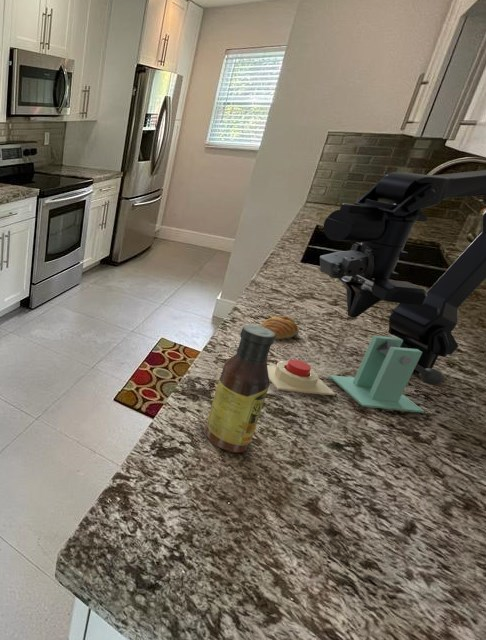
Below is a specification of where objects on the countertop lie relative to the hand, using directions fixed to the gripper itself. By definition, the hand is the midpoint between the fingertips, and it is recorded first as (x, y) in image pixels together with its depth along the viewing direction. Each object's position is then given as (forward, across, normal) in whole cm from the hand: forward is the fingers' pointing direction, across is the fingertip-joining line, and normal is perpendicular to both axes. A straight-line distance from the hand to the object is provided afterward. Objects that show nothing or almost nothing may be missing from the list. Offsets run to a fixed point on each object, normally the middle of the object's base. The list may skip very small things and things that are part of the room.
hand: (351, 316), depth 82 cm
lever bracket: (+12, +9, +2) cm, 15 cm away
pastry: (+12, -14, -3) cm, 19 cm away
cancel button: (+10, +7, -11) cm, 16 cm away
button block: (+12, +7, -11) cm, 18 cm away
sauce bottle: (+13, +26, -31) cm, 42 cm away
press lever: (+6, +9, +5) cm, 12 cm away
